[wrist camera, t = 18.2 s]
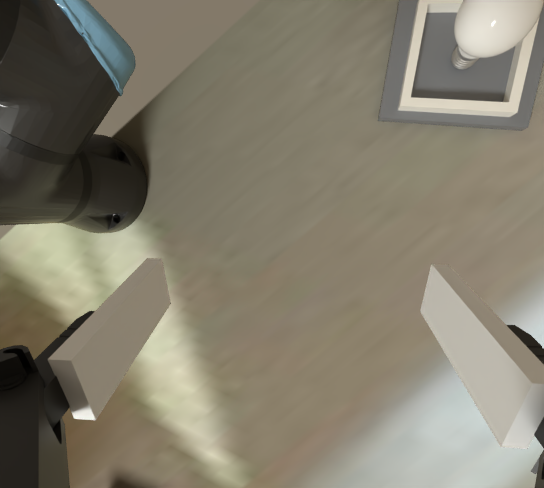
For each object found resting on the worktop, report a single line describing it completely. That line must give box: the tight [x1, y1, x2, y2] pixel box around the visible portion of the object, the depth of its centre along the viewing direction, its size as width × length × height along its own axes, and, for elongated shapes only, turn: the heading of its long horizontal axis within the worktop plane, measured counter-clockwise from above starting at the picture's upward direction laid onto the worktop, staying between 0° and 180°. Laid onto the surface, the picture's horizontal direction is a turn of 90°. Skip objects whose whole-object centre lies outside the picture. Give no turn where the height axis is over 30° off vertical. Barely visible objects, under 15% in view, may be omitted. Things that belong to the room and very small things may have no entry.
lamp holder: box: [378, 0, 544, 131], centre depth 34 cm, size 16×14×3 cm
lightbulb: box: [451, 0, 544, 69], centre depth 29 cm, size 6×6×11 cm
